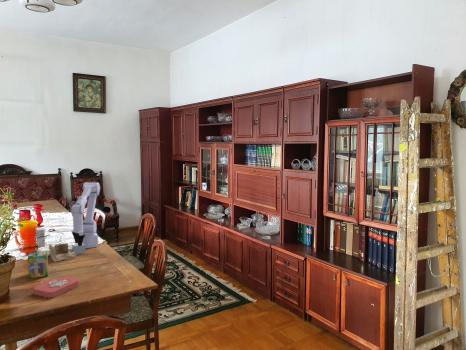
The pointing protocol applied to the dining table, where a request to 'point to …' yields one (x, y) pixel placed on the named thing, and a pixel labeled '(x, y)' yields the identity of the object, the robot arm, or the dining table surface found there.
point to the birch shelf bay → (60, 256)
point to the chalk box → (37, 264)
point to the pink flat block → (56, 286)
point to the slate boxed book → (78, 249)
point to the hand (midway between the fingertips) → (78, 244)
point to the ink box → (40, 237)
